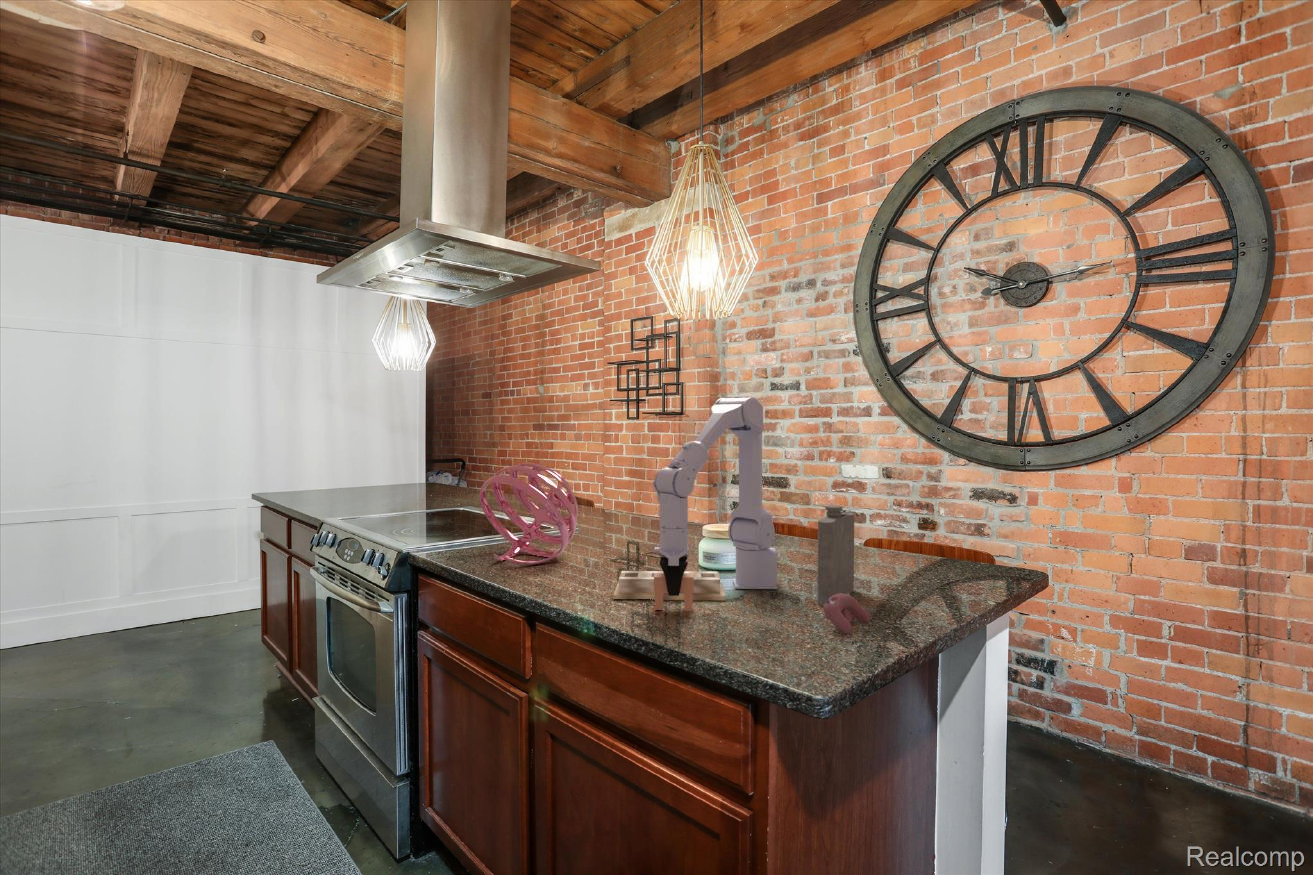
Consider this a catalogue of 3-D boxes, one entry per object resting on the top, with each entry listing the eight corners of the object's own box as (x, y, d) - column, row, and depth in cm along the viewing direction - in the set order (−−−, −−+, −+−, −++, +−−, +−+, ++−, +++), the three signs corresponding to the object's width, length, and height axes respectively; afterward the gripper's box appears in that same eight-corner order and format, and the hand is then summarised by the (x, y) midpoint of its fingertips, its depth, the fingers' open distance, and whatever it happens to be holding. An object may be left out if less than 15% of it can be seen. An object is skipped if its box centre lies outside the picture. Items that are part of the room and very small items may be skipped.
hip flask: (829, 607, 132) (830, 510, 131) (810, 603, 134) (811, 509, 133) (855, 590, 144) (856, 502, 144) (838, 587, 147) (838, 500, 146)
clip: (693, 607, 132) (693, 573, 131) (693, 611, 129) (693, 577, 128) (654, 606, 132) (654, 573, 132) (653, 611, 129) (653, 577, 129)
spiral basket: (489, 500, 151) (554, 433, 169) (434, 516, 170) (498, 454, 188) (558, 584, 159) (614, 512, 178) (498, 590, 178) (554, 525, 196)
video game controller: (852, 626, 124) (837, 591, 126) (873, 620, 122) (857, 585, 124) (831, 640, 117) (815, 603, 119) (852, 634, 114) (836, 596, 116)
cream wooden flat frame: (721, 586, 147) (721, 569, 147) (725, 600, 136) (725, 581, 136) (618, 585, 148) (618, 568, 148) (613, 599, 137) (613, 581, 137)
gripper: (655, 520, 137) (655, 583, 138) (652, 533, 123) (652, 602, 123) (688, 520, 137) (688, 583, 137) (689, 533, 122) (689, 603, 123)
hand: (673, 592), depth 130 cm, fingers closed on clip, 3 cm apart
